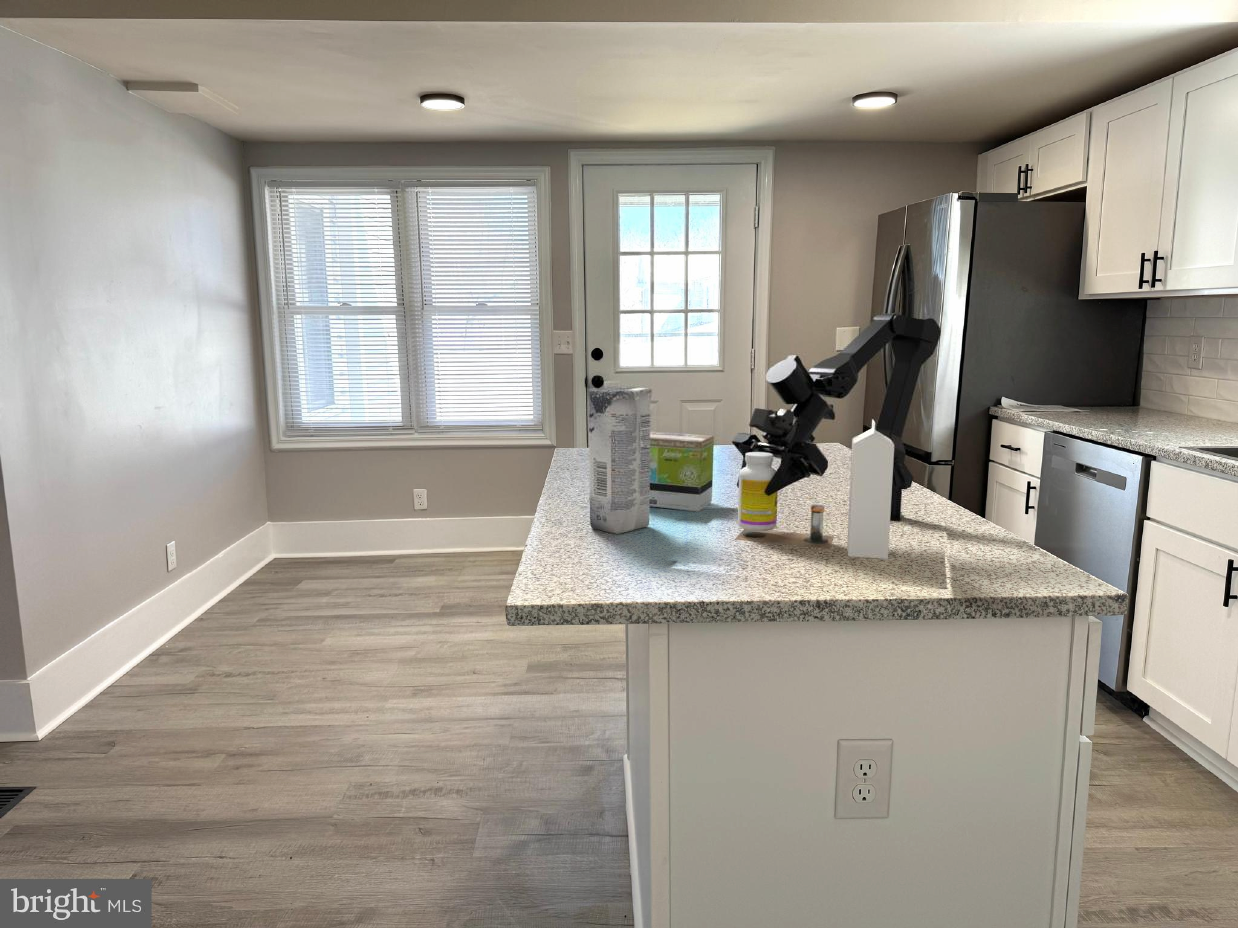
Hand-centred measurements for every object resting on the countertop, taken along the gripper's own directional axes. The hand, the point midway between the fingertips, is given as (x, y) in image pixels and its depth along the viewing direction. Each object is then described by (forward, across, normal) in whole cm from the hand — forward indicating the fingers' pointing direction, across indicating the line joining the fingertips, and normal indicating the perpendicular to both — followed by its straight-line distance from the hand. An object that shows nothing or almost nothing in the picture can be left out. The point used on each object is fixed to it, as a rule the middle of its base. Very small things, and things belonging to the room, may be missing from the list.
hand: (752, 490), depth 137 cm
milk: (+1, +18, +12) cm, 22 cm away
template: (+4, +4, +9) cm, 11 cm away
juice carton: (+16, -20, -3) cm, 26 cm away
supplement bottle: (+4, 0, +6) cm, 7 cm away
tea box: (+2, -32, +11) cm, 34 cm away
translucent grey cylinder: (+1, +8, +10) cm, 13 cm away
